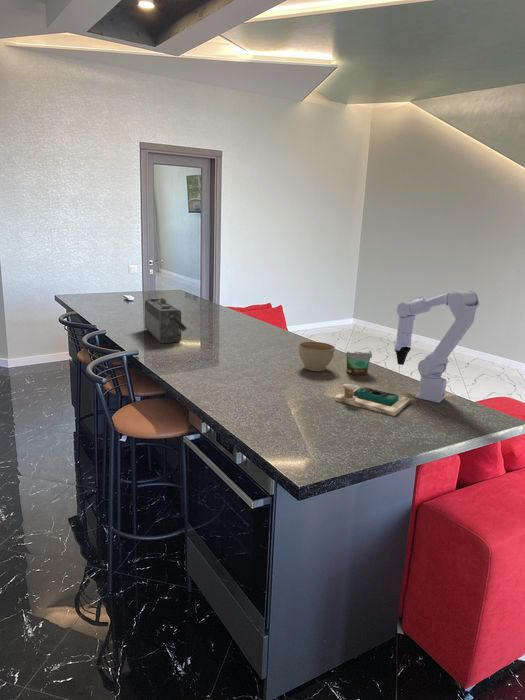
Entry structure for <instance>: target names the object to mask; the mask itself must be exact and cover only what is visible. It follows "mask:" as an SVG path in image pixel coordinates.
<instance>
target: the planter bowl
mask: <svg viewBox="0 0 525 700" xmlns="http://www.w3.org/2000/svg"><path fill="white" fill-rule="evenodd" d="M335 349H336V346H334V345H333V344H330V343H327V342H323V341H322V342H320V341H302V342H300V343H298V351H299V353H298V354H299V357H300V360H301V362H302V364H303V367H304V369H306V370H308V371H312V372H323V371H325V370H326V368H327V366H329V364H330V363H331V361H332V360H333V357H334V353H335Z"/></svg>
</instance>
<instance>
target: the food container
mask: <svg viewBox="0 0 525 700" xmlns="http://www.w3.org/2000/svg"><path fill="white" fill-rule="evenodd" d="M372 354H373V353H372V351H371V350H369V351H368V352H359V351H357V352H350V351H346V353H345V355H344V356H345V357H346V374H348V375H350V376H351V375H352V376H357V377H359V376H361V377H364V376H367V375H368V371H369V365H370V360H371V359H372V357H373V355H372Z"/></svg>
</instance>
